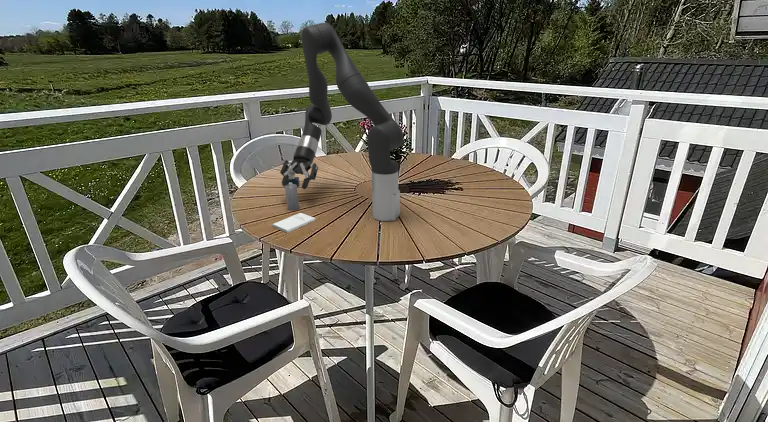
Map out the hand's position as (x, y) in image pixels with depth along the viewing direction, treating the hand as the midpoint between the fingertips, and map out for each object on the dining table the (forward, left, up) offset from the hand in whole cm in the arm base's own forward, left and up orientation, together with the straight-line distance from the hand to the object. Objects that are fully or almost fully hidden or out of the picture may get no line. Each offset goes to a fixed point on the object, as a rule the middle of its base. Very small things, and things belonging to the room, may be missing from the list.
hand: (293, 187), depth 149 cm
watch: (+14, -20, -8) cm, 26 cm away
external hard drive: (-8, +14, -9) cm, 18 cm away
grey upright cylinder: (0, +2, -8) cm, 8 cm away
